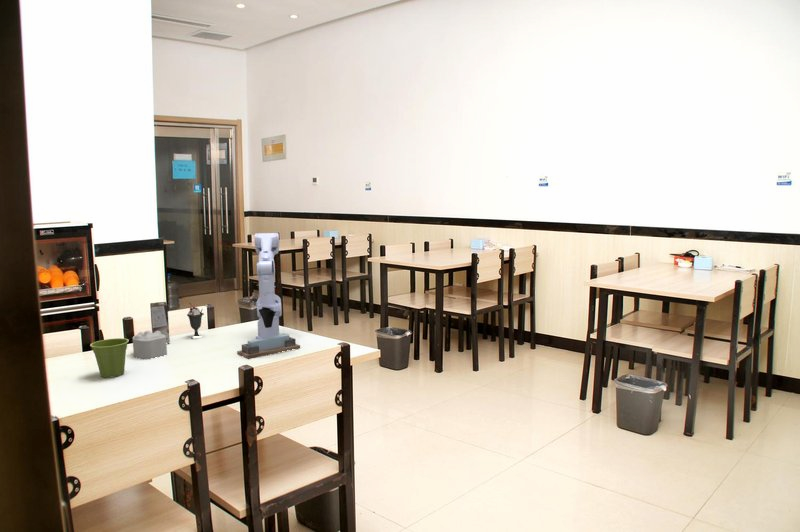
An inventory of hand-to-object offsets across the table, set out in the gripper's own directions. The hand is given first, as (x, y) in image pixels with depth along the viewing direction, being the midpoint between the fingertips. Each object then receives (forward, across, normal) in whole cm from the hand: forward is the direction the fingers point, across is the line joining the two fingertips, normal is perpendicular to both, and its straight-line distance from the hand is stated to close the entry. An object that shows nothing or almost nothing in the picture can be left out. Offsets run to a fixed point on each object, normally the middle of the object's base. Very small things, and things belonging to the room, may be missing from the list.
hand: (268, 327), depth 231 cm
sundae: (+10, -42, -12) cm, 44 cm away
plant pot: (+10, -10, -54) cm, 56 cm away
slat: (+8, 0, 0) cm, 8 cm away
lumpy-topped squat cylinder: (+10, -28, -36) cm, 46 cm away
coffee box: (+10, -44, -26) cm, 52 cm away
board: (+9, 0, 0) cm, 9 cm away
